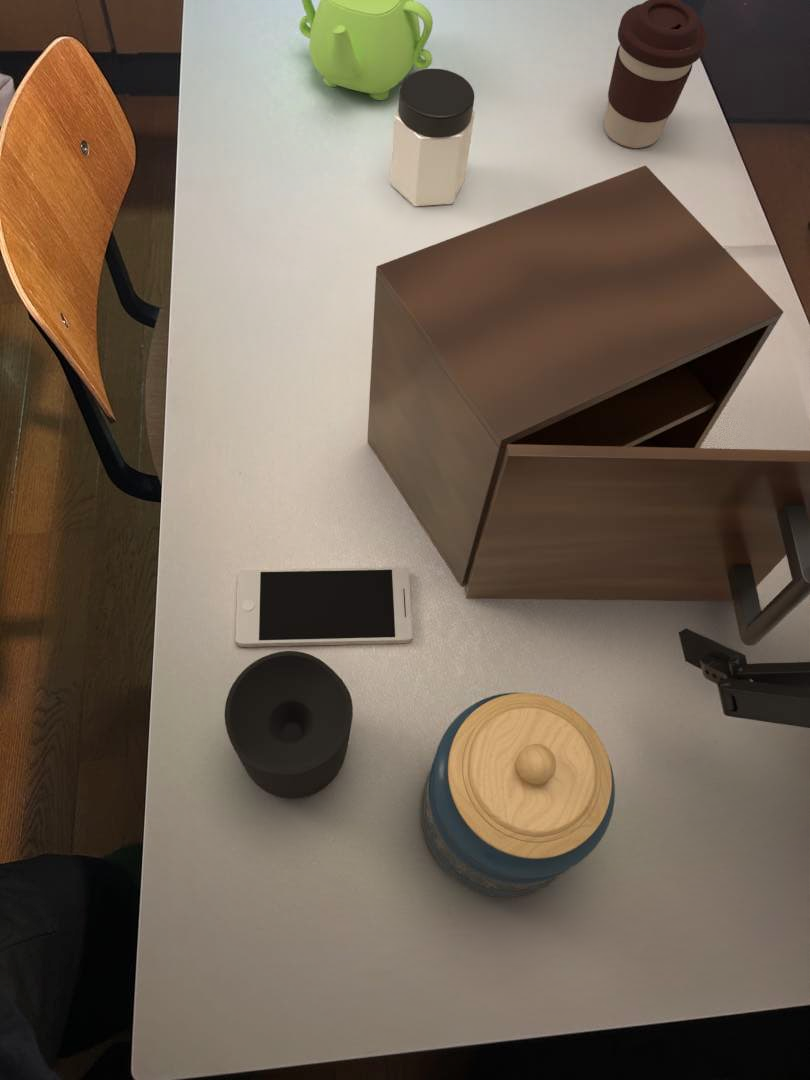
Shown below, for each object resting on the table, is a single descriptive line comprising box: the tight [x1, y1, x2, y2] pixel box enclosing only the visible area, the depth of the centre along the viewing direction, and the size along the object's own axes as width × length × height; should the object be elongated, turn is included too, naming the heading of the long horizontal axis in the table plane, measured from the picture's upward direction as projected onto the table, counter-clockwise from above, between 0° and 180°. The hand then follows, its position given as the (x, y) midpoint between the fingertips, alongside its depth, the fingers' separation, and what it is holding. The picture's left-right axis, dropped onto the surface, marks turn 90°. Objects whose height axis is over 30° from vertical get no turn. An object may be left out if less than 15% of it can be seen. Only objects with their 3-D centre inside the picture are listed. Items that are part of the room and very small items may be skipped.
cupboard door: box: [464, 444, 810, 647], centre depth 74 cm, size 8×26×24 cm, turn 91°
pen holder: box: [224, 650, 354, 799], centre depth 73 cm, size 9×9×10 cm
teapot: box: [298, 0, 434, 101], centre depth 113 cm, size 16×14×13 cm
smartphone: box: [235, 566, 414, 648], centre depth 83 cm, size 7×15×1 cm, turn 93°
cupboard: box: [367, 164, 784, 588], centre depth 82 cm, size 18×26×24 cm
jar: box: [389, 68, 476, 207], centre depth 105 cm, size 9×8×12 cm
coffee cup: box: [603, 0, 708, 149], centre depth 110 cm, size 10×10×15 cm
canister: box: [420, 692, 616, 898], centre depth 68 cm, size 13×13×18 cm
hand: (750, 607), depth 76 cm, fingers open, 13 cm apart
